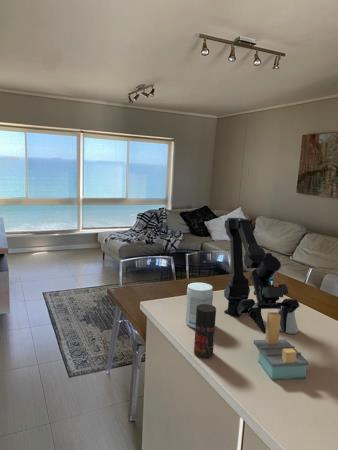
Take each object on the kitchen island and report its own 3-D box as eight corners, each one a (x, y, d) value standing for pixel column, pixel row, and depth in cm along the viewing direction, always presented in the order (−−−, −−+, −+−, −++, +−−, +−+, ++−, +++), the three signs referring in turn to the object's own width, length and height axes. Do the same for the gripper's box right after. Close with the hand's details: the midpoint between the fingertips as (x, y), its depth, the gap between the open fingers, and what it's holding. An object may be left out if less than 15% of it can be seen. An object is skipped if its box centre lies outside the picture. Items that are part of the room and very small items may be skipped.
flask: (299, 328, 124) (302, 302, 122) (298, 336, 117) (301, 309, 116) (279, 324, 127) (281, 299, 125) (276, 331, 120) (279, 305, 119)
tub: (258, 361, 100) (259, 349, 99) (289, 360, 101) (290, 348, 100) (271, 380, 91) (272, 366, 90) (305, 378, 92) (306, 365, 92)
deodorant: (192, 348, 105) (195, 304, 103) (210, 348, 106) (213, 304, 104) (195, 358, 100) (198, 311, 97) (214, 358, 100) (218, 311, 98)
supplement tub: (216, 326, 122) (219, 288, 120) (196, 332, 117) (198, 292, 115) (199, 316, 130) (202, 280, 128) (180, 321, 125) (182, 284, 123)
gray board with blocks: (253, 343, 103) (256, 312, 101) (285, 342, 104) (288, 312, 103) (272, 367, 90) (275, 332, 88) (308, 365, 91) (312, 331, 90)
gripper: (243, 274, 101) (254, 324, 92) (299, 274, 104) (316, 322, 95) (232, 290, 110) (242, 337, 101) (285, 289, 113) (298, 335, 104)
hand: (274, 332), depth 100 cm, fingers open, 6 cm apart
